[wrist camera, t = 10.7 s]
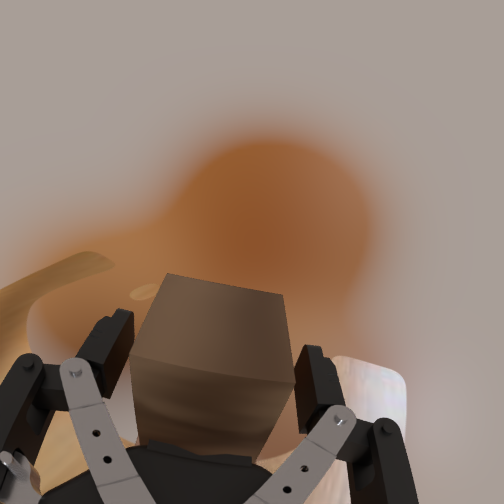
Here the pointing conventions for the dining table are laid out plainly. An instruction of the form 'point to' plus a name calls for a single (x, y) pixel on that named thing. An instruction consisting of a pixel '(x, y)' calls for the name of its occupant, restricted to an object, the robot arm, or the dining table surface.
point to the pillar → (211, 367)
